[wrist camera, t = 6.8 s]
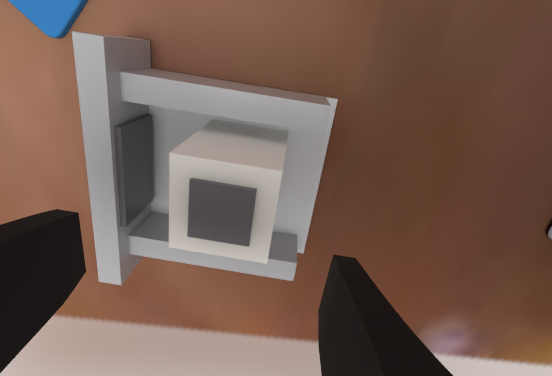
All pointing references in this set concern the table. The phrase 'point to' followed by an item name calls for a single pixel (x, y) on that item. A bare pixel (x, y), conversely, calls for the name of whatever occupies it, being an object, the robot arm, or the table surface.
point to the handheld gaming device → (51, 14)
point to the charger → (226, 190)
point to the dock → (170, 134)
